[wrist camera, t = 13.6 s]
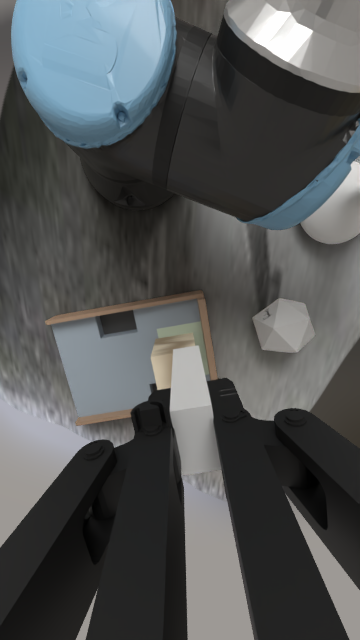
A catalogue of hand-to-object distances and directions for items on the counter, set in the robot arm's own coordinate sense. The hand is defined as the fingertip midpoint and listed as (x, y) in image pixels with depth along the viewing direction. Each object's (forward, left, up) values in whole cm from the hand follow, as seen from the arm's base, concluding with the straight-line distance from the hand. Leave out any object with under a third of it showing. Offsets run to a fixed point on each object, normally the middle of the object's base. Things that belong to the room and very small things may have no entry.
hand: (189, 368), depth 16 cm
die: (+13, +9, -30) cm, 34 cm away
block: (+6, -6, -27) cm, 28 cm away
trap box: (+3, -12, -29) cm, 32 cm away
